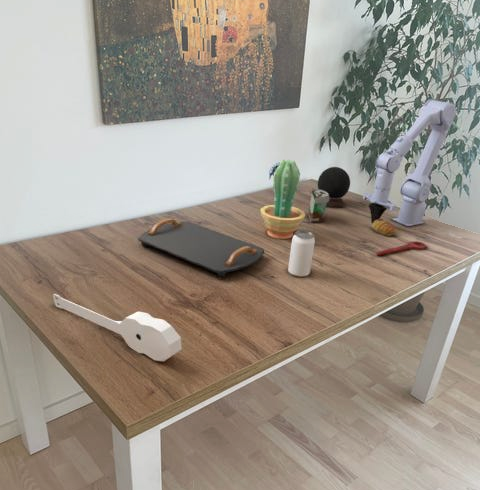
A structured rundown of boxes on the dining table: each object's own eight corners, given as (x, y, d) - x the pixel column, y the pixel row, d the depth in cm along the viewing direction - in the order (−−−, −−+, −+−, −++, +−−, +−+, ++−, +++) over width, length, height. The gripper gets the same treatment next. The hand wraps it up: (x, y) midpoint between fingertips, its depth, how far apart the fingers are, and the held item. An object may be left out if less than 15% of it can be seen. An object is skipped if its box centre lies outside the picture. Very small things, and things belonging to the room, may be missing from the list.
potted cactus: (291, 224, 176) (300, 155, 164) (309, 241, 164) (321, 167, 151) (251, 226, 171) (258, 155, 159) (267, 243, 159) (275, 167, 146)
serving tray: (272, 260, 148) (274, 241, 145) (226, 285, 131) (227, 264, 128) (180, 226, 167) (180, 209, 164) (129, 244, 150) (128, 225, 147)
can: (295, 278, 138) (301, 239, 132) (283, 269, 143) (288, 231, 137) (314, 275, 141) (320, 237, 135) (301, 266, 146) (307, 229, 140)
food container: (327, 225, 179) (332, 199, 174) (311, 224, 178) (315, 197, 173) (323, 214, 189) (327, 189, 184) (308, 212, 189) (311, 187, 184)
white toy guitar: (70, 308, 120) (56, 314, 117) (65, 278, 116) (50, 284, 113) (184, 358, 100) (170, 367, 97) (182, 325, 96) (168, 333, 94)
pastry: (399, 236, 174) (402, 226, 172) (385, 238, 172) (387, 228, 170) (382, 226, 181) (385, 217, 179) (368, 228, 179) (370, 218, 177)
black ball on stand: (349, 202, 205) (356, 166, 198) (342, 210, 194) (348, 173, 187) (319, 196, 209) (325, 161, 202) (310, 204, 199) (316, 168, 191)
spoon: (417, 242, 170) (418, 238, 169) (429, 248, 166) (430, 244, 165) (371, 253, 159) (372, 248, 158) (382, 259, 155) (383, 254, 154)
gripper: (360, 183, 176) (353, 218, 183) (389, 194, 166) (381, 231, 173) (373, 181, 180) (366, 216, 187) (403, 192, 169) (394, 228, 176)
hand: (374, 223), depth 180 cm, fingers closed
